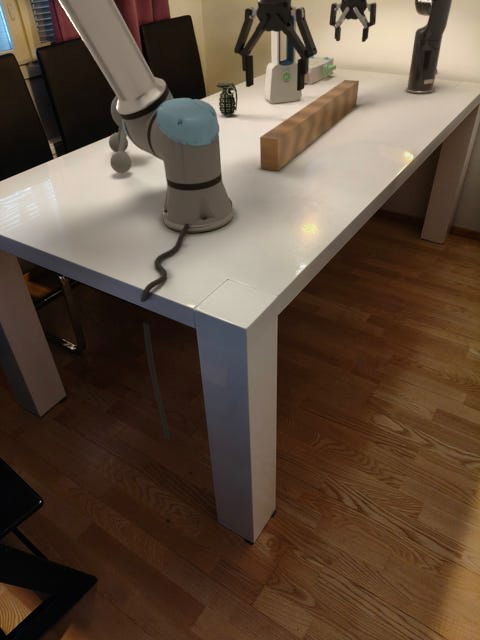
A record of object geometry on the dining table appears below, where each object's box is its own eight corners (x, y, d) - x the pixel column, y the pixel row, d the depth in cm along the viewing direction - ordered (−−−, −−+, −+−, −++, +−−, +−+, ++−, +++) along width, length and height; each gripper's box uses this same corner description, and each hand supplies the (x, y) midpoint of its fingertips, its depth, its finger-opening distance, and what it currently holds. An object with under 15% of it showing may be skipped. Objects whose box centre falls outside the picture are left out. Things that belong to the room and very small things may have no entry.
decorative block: (301, 54, 217) (342, 57, 208) (301, 70, 221) (341, 73, 212) (270, 65, 201) (313, 69, 192) (270, 82, 205) (312, 86, 196)
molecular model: (195, 164, 133) (181, 39, 115) (114, 179, 127) (87, 50, 109) (172, 140, 150) (157, 28, 132) (101, 152, 145) (75, 37, 126)
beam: (277, 171, 127) (277, 139, 122) (260, 168, 129) (260, 137, 124) (356, 105, 171) (358, 80, 167) (342, 104, 174) (344, 79, 169)
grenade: (217, 117, 168) (214, 86, 162) (221, 112, 172) (219, 82, 166) (235, 117, 166) (233, 86, 160) (239, 113, 171) (238, 82, 165)
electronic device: (270, 104, 178) (269, 7, 160) (263, 99, 184) (262, 5, 165) (301, 100, 180) (304, 4, 162) (294, 95, 186) (296, 2, 168)
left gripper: (335, -22, 103) (328, 87, 116) (232, -19, 113) (237, 80, 126) (322, -19, 98) (317, 95, 111) (215, -16, 108) (222, 87, 121)
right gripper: (382, -22, 147) (375, 39, 157) (337, -21, 152) (333, 38, 162) (375, -20, 142) (369, 43, 151) (328, -19, 147) (325, 42, 157)
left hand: (274, 87), depth 118 cm, fingers open, 13 cm apart
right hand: (350, 41), depth 157 cm, fingers open, 8 cm apart
